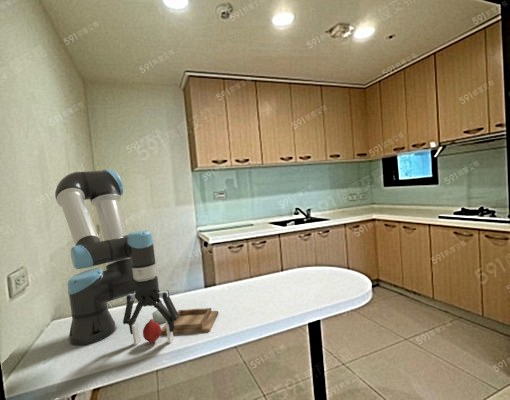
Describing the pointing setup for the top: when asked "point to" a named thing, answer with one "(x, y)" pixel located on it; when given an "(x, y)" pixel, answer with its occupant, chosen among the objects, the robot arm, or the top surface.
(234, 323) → the top surface
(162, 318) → the pale green dome
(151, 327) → the onion
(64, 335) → the top surface
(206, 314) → the tray
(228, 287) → the top surface
